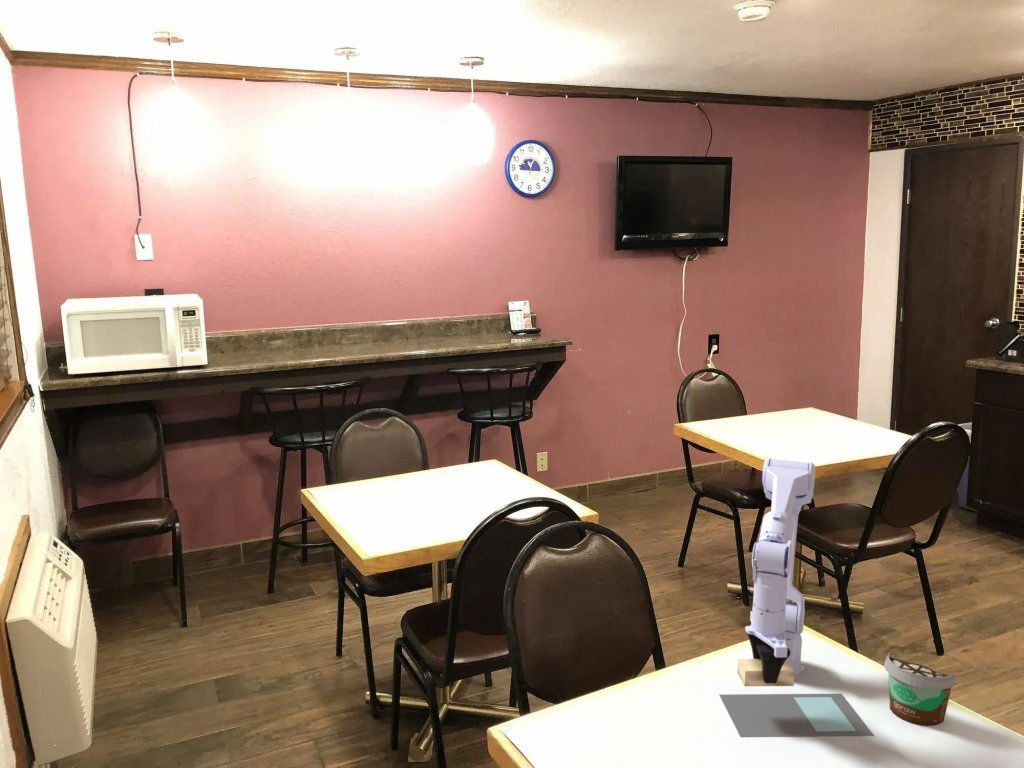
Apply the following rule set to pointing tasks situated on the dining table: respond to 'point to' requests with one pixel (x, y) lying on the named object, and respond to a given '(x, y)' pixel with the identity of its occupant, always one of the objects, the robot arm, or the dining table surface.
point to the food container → (918, 692)
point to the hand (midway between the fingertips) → (765, 675)
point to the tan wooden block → (753, 673)
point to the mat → (794, 715)
